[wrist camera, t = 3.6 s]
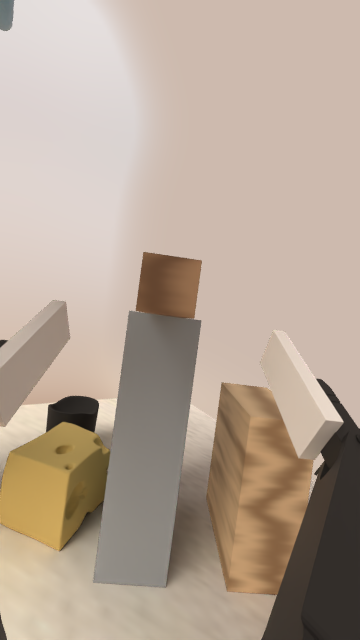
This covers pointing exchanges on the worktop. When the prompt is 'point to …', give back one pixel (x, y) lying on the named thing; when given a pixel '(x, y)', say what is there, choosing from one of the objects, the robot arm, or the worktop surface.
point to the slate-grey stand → (147, 450)
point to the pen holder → (73, 412)
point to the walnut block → (168, 285)
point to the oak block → (255, 490)
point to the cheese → (54, 484)
